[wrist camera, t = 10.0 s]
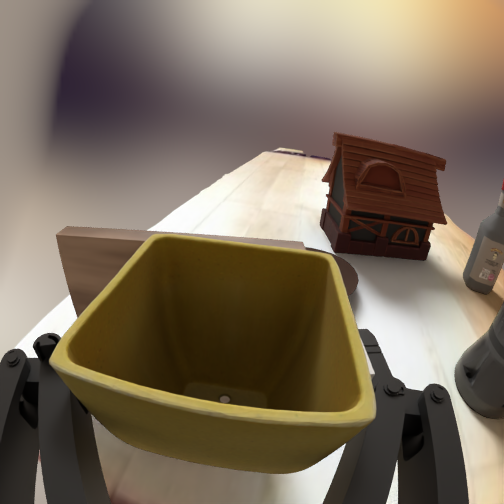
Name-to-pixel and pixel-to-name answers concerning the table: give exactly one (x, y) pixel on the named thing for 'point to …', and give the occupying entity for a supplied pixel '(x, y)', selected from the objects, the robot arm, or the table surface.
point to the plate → (343, 271)
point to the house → (381, 199)
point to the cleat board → (116, 257)
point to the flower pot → (222, 355)
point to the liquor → (487, 252)
